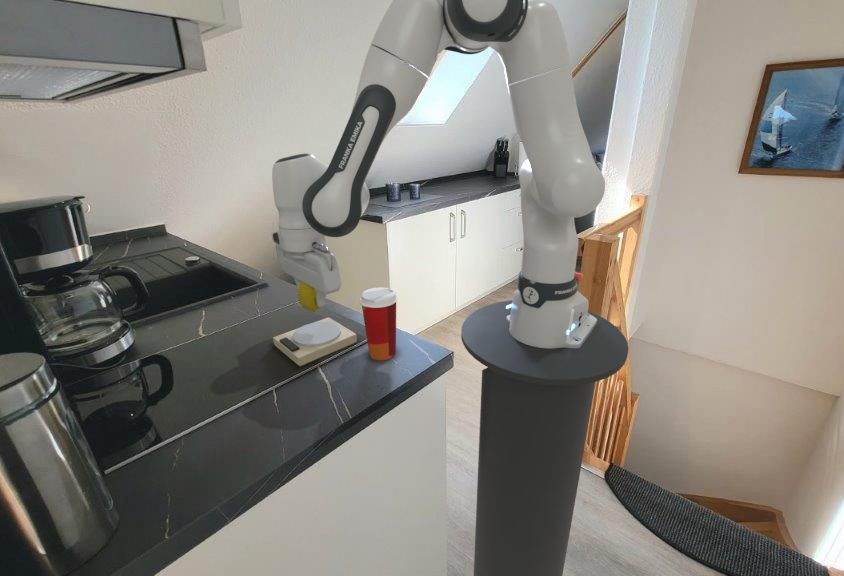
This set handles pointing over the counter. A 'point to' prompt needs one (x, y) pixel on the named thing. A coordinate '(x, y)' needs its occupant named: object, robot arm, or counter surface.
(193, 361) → the counter surface
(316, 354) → the scale
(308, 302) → the lemon
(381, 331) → the paper cup
